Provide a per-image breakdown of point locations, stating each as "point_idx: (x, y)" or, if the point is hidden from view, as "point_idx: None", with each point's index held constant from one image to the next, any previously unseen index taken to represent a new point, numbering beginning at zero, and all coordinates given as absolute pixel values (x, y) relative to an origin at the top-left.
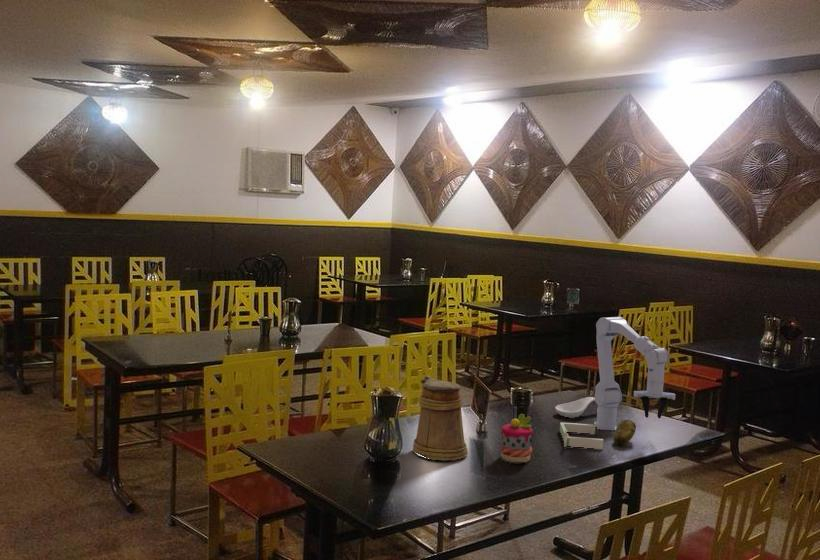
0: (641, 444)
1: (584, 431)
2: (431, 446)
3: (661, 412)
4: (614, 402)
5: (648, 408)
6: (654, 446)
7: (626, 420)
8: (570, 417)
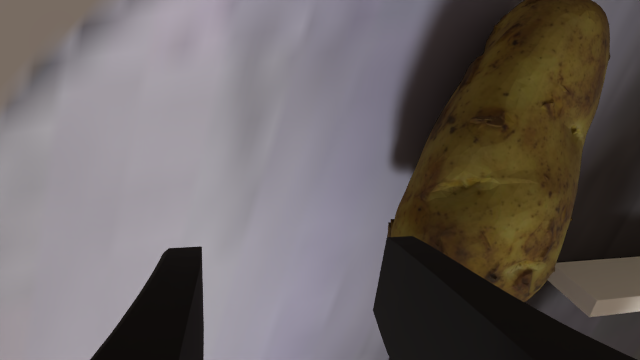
0: (327, 123)
1: (613, 267)
2: None
3: (142, 317)
4: None
5: (515, 338)
6: (228, 88)
7: (525, 278)
8: None
